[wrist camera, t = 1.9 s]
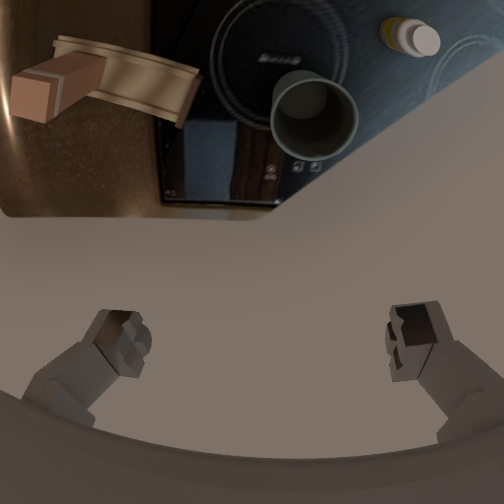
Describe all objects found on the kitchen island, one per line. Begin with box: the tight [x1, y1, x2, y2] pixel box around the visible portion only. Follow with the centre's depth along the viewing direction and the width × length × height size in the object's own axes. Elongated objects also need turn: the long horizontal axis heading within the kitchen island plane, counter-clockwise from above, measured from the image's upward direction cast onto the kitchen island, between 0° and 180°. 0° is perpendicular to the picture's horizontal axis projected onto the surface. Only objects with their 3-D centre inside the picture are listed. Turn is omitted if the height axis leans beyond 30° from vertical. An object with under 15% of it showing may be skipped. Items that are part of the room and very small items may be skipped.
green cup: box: [270, 70, 358, 161], centre depth 36 cm, size 10×10×12 cm
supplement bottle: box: [380, 17, 440, 57], centre depth 29 cm, size 5×5×10 cm
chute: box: [53, 35, 204, 129], centre depth 36 cm, size 25×9×4 cm, turn 65°
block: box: [9, 51, 107, 123], centre depth 30 cm, size 6×5×15 cm
